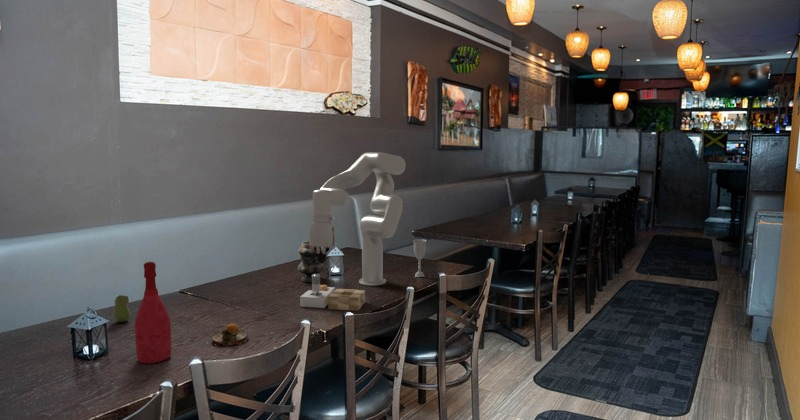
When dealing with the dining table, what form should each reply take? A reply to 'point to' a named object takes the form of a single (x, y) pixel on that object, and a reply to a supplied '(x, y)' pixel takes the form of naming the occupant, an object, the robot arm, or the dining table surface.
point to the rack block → (346, 299)
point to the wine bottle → (152, 323)
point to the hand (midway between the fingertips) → (321, 262)
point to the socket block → (316, 298)
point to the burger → (230, 336)
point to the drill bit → (316, 284)
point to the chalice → (419, 253)
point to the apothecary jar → (309, 262)
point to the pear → (121, 309)
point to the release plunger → (323, 287)
